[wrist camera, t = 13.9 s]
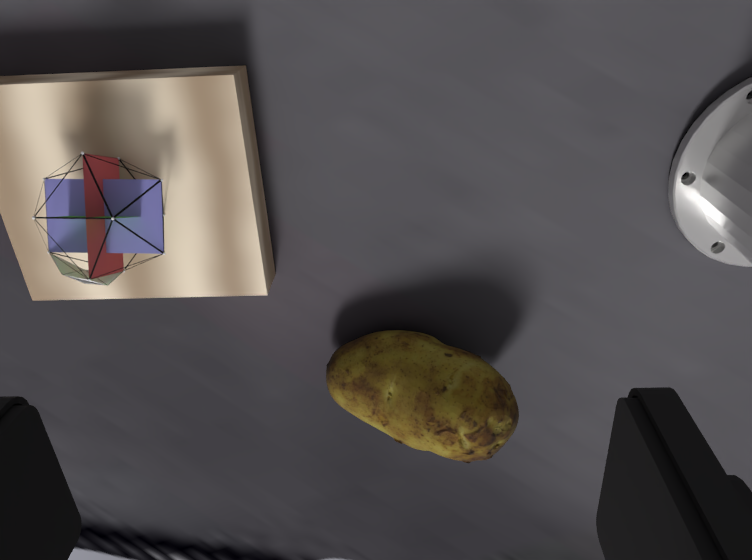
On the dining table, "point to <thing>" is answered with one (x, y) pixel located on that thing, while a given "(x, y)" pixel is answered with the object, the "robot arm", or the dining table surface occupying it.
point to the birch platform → (142, 175)
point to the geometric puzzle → (102, 219)
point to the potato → (424, 393)
